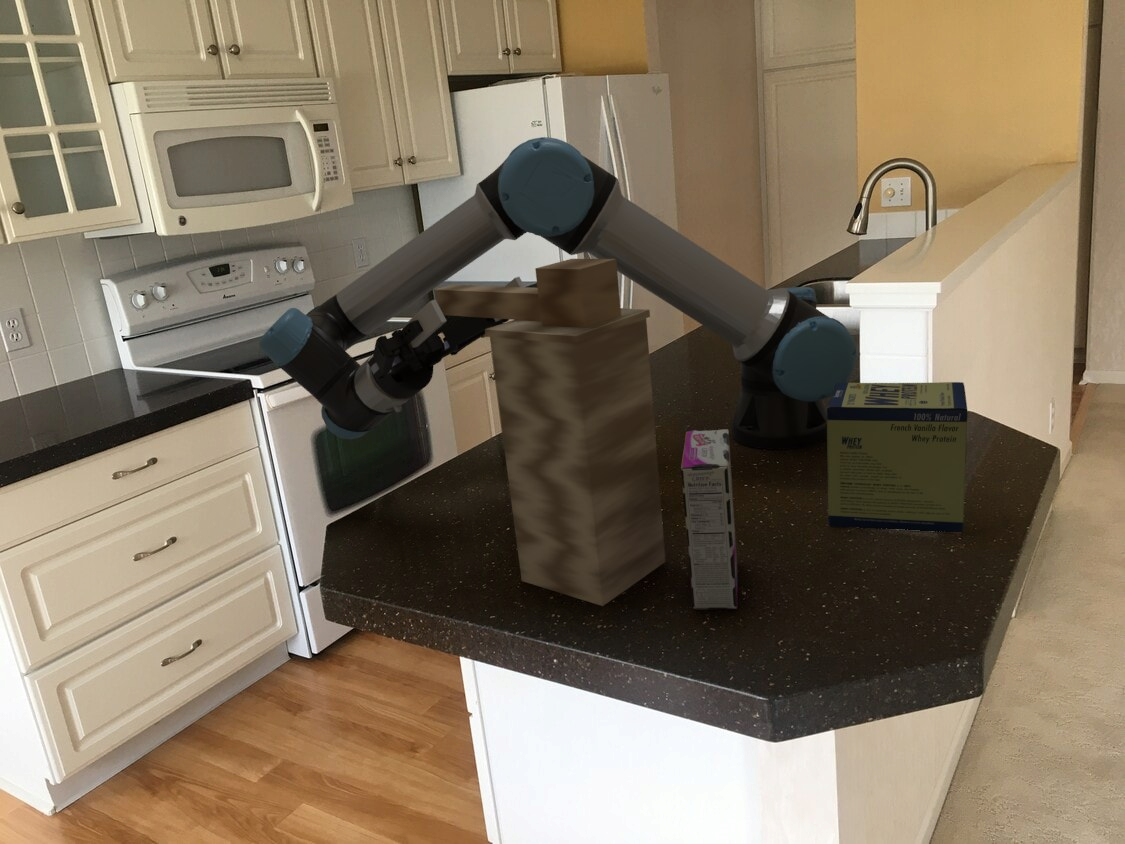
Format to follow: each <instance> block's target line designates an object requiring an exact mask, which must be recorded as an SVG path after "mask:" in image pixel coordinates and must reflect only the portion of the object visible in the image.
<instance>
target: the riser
mask: <svg viewBox="0 0 1125 844" xmlns="http://www.w3.org/2000/svg"><path fill="white" fill-rule="evenodd" d="M620 308H621V316H619V317H616V318H613V319H610V320H607V321H605V322H602V323H599V324H596V325H593V326H591V327H588V328H576V327H561V326H547V325H542V323H541V321H527V320H512V319H511V320H509V321H507V322H505V323H503V324H500V325H497V326H494V327H490V328H487V329H485V335H484V336H485V337H487V338H489V342H490V349H491V356H492V364H493V372H494V373H493V374H494V380H495V386H496V396H497V402H498V409H499V418H500V424H501V432H502V433H501V434H502V440H503V441H502V442H503V448H504V456H505V463H506V470H507V479H508V485H509V492H510V493H509V494H510V501H511V507H512V508H511V509H512V515H513V523H514V525H513V526H514V532H515V540H516V548H517V555H518V562H519V568H520V577H521V582H523V583H527V584H531V585H533V586H536V587H540V588H543V589H547V590H549V591H554V592H557V593H559V594H562V595H566V596H569V597H572V598H575V599H579V600H581V601H585V602H589V603H591V604H593V605H598V606H601V607H604V606H605V605H606V604H608V603H610V602H611V601H612V600H614V599H615V598H616V597H618V596H619V595H621V594H622V593H624V592H625V591H627V590H628V589H629V588H631V587H632V586H634V584H637V582H639V581H640V580H642V579H644V578H645V577H646V576H647V575H649V574H650V573H652V572H653V571H655V570H656V569H657V568H659V567H660V566H661V565H664V564H665V563H666V552H665V541H664V539H665V538H664V537H665V536H664V526H663V514H662V504H661V503H662V502H661V487H660V486H661V485H660V475H659V462H658V450H657V449H658V448H657V440H656V439H657V438H656V426H655V413H654V411H655V410H654V400H653V399H654V398H653V387H652V374H651V363H650V362H651V360H650V349H649V336H648V325H647V324H648V323H647V318H651V314H650V311H651V310H650V309H649V308H648V309H647V308H645V309H643V308H626V307H625V308H624V307H620Z"/></svg>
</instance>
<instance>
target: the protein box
mask: <svg viewBox="0 0 1125 844" xmlns="http://www.w3.org/2000/svg"><path fill="white" fill-rule="evenodd" d="M967 405H968V404H967V397H966V389H965V383H964V382H962V381H956V382H955V381H954V382H953V381H951V382H950V381H947V382H945V381H944V382H943V381H942V382H847V383H836V384H835V385H834V389H833V393H832V396H830V399H829V401H828V403H827V406H826V408H827V438H826V440H827V441H826V442H827V445H826V446H827V447H826V448H827V451H826V453H827V526H828V527H832V528H833V527H834V528H847V527H854V528H853V529H856V528H855V527H859V528H858V529H865V528H876V529H875V530H884V529H886V528H887V529H905V530H907V529H908V530H920V531H935V532H934V533H936V531H937V532H939V531H940V532H941V531H942V532H944V531H945V532H963V533H964V517H965V515H964V514H965V493H966V492H965V490H966V465H967V463H966V462H967V461H966V460H967V443H968V442H967V441H968V406H967ZM878 528H879V529H878ZM881 528H882V529H881Z"/></svg>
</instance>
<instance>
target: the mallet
mask: <svg viewBox="0 0 1125 844" xmlns="http://www.w3.org/2000/svg"><path fill="white" fill-rule="evenodd" d="M618 276H619V275H618V271H617V262H616V259H598V258H568V259H566V260H562V261H558V262H553V263H551V264H547V265H543V266H540V267H539V266H538V267H536V268H535V277H536V286H537V287H527V286H525V287H505V286H502V285H501V286H494V285H493V286H492V285H472V284H469V285H465V284H451V285H447V286H443V287H439V288H434V289H433V293H434V300H436V301H437V303H438V305H439V307H440V309H441V311H442V313H443V315H444V316H452V317H482V318H497V319H510V320H511V321H512V320H527V321H541V323H542V325H547V326H561V327H576V328H588V327H591V326H593V325H596V324H599V323H602V322H605V321H607V320H610V319H613V318H616V317H619V316H621V308H622V307H621V300H620V298H621V297H620V286H619V277H618Z"/></svg>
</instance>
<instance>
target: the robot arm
mask: <svg viewBox="0 0 1125 844" xmlns="http://www.w3.org/2000/svg"><path fill="white" fill-rule="evenodd" d="M621 190H622V189H621V185H620V181H619V178H618V177H616V176H614V175H613V174H611V173H610V172H609V171H607V170H605V169H604V168H602V167H601V166H599V165H598V164H597V163H595V162H594V161H592V160H590V159H589V158H587V157H586V156H585V155H583V154H582V152H580V150H578V149H577V148H576V147H575V146H573V145H572V144H570V143H568V142H566V141H564V140H562V139H559V138H554V137H545V136H544V137H542V136H541V137H536V138H535V137H534V138H531V139H528V140H526V141H524V142H522V143H520V144H518V145H517V146H516V147H515V148H514V149H512V150H511V152H510V153H509V154H508V156H507V157H506V158H505V160H503V161H502V163H501V164H500V166H498V167H496V169H495V170H494V171H493V172H491V173H490V174H489V175H487V176H486V177H485V178H484V179H482V180H481V181H480V182H478V183H476V187H475V191H474V195H472V196H471V197H469V198H468V199H467V200H466V201H464V202H463V203H461V204H459V205H458V206H457V207H455V208H454V209H453V210H451V211H450V212H449V213H447V214H446V215H444V216H443V217H441V218H440V219H438V220H437V221H436V222H435V223H433V224H431V225H430V226H429V227H427V228H426V229H424V230H423V231H422V232H420V233H419V234H418V235H416V236H415V237H414V238H412V239H411V240H409V241H408V242H406V243H405V244H403V246H401V247H400V248H398V249H397V250H395V251H394V252H392V253H391V254H390V255H388V256H387V257H385V258H384V259H383V260H381V261H380V262H379V263H377V264H376V265H375V266H373V267H372V268H370V269H369V270H367V271H366V272H364V273H363V274H362V275H359V276H358V278H356V279H355V280H353V281H352V282H350V283H349V284H348V285H346V286H345V287H343V288H342V289H341V290H339V291H338V292H337V293H336V294H335V295H333V296H331V297H330V298H329V299H327V300H326V301H324V302H322V303H321V304H320V305H317V306H316V307H313V309H311V310H309V312H307V313H306V314H305V312H302V311H301V310H300V309H299V308H298V307H291V308H289V309H287V310H286V311H285V312H284V313H283V314H282V315H280V316H279V318H278V319H277V320H275V322H274V323H273V324H272V325H271V326H270V327H269V328H268V329H267V330H266V331H265V332H264V334H263V335H262V336H261V337H260V339H259V342H258V345H259V348H260V349H261V351H262V352H263V353H264V354H265V355H266V356H267V357H268V358H269V359H270V360H271V361H272V363H273V364H274V365H275V366H276V367H279V368H280V369H281V370H282V371H284V372H285V373H286V374H287V375H288V376H289V377H290V378H291V379H292V380H293V381H295V382H296V383H298V385H300V386H301V387H302V388H303V389H304V390H305V391H307V393H309V394H310V395H311V396H312V397H313V398H314V399H316V400H317V402H318V403H319V404H321V410H320V411H321V419H322V420H323V422H324V425H325V427H326V428H327V429H328V430H329V432H330V433H332V434H333V435H335V436H336V437H338V438H341V439H345V440H355V439H358V438H361V437H363V436H364V435H365V434H367V433H369V432H371V431H373V430H375V429H376V428H377V427H378V426H379V425H380V424H382V422H383V421H385V420H386V419H387V418H388V417H390V416H391V415H392V414H393V413H394V412H395V413H400V412H402V410H403V408H402V405H403V404H405V403H406V402H408V401H409V400H410V399H412V398H413V397H414V396H416V395H417V394H418V393H419V392H421V391H422V390H423V389H425V388H426V387H427V386H428V385H429V384H430V382H431V380H432V379H433V375H434V366H435V365H436V364H437V365H438V363H440V362H441V361H442V360H443V359H444V358H445V357H446V358H447V356H449V355H450V356H456V355H457V354H458V353H459V352H460V351H462V350H463V349H464V348H466V347H468V346H469V345H471V344H473V343H474V342H475V341H477V340H478V339H480V338H482V337H483V336H486V335H485V329H487V328H490V327H494V326H497V325H500V324H503V323H506V322H509V321H511V319H497V318H482V317H467V316H464V317H462V318H461V319H460V320H458V321H456V322H454V323H453V324H451V325H449V326H446V325H444V324H446V322H447V321H448V320H447V319H446V316H445V315H443V313H442V311H441V309H440V307H439V305H438V303H437V301H436V300H435V299H432V300H430V301H429V302H428V303H426V305H424V306H423V307H422V308H421V309H420V310H418V312H417V313H416V314H414V315H413V316H412V317H411V318H410V319H409V320H408V321H407V322H406V323H405V324H404V325H403V326H402V327H401V328H402V329H396V330H395V329H394V331H393V332H391V337H387V336H386V335H380V336H378V338H377V339H376V341H375V345H374V350H373V353H372V355H370V356H369V357H368V358H367V359H366V360H364V362H363V363H362V364H360V363H359V362H357V360H356V359H354V357H353V356H352V355H350V354H349V353H348V349H350V348H352V347H353V346H355V345H356V344H358V342H361V340H363V339H364V338H365V337H366V336H368V335H369V334H370V333H373V332H374V331H375V330H376V329H378V328H380V327H381V326H382V325H384V324H385V323H387V322H388V321H390V320H391V319H393V318H394V317H395V316H397V315H398V314H399V313H401V312H402V311H404V310H406V309H407V308H408V307H410V306H412V304H414V303H416V302H417V301H418V300H419V299H422V298H423V297H424V296H425V295H428V293H430V292H431V291H434V289H436V288H437V287H439V286H440V285H441V284H442V283H444V282H445V281H447V280H448V279H450V278H451V277H452V276H454V275H455V274H457V273H458V272H460V271H461V270H463V269H464V268H466V267H467V266H468V265H470V264H472V263H473V262H475V260H477V259H478V258H480V257H482V256H483V255H484V254H485V253H487V252H488V251H490V250H491V249H493V248H494V247H496V246H497V245H499V244H500V243H501V242H503V241H504V240H509V241H510V240H512V241H516V240H518V239H519V238H521V237H523V235H525V234H527V233H529V234H533V235H535V236H538V237H541V238H543V239H544V240H546V241H547V242H548V243H550V244H552V245H554V246H555V247H557V248H559V249H560V250H562V251H564V252H565V253H567V254H568V255H570V256H574V255H578V254H583V253H584V254H585V253H587V254H589V255H592V257H595V259H616V262H617V273H620V274H622V275H623V276H624V277H626V278H628V279H629V280H631V281H632V282H634V283H635V284H637V285H639V286H640V287H642V288H643V289H645V290H647V291H648V292H649V293H652V294H653V295H654V296H656V297H657V298H659V299H661V300H662V301H664V302H665V303H667V304H669V305H671V306H672V307H674V308H675V309H677V310H678V311H680V312H681V313H682V314H684V315H686V316H688V317H689V318H691V319H692V320H694V321H696V322H697V323H699V324H700V325H701V326H703V327H706V328H707V329H708V330H709V331H711V332H713V333H714V334H716V335H718V336H720V337H721V338H723V340H726V341H727V342H728V343H730V344H731V345H732V349H733V356H734V358H735V360H736V361H738V362H739V363H740V365H739V367H740V369H739V370H740V382H741V383H740V384H741V389H740V393H739V397H738V400H737V402H736V407H735V411H734V413H733V414H734V415H733V418H732V422H731V426H732V427H731V431H732V432H731V433H732V438H733V439H734V440H735V441H736V442H738V443H739V444H742V445H744V446H747V447H753V448H757V449H767V450H768V449H769V450H771V449H772V450H786V449H797V448H804V447H809V446H813V445H815V444H819V443H822V442H823V441H825V440H827V406H826V404H825V401H824V400H825V399H827V398H831V396H832V393H833V389H834V385H835V384H836V383H848V381H849V380H850V379H851V377H852V374H853V372H854V369H855V367H856V363H857V346H856V343H855V340H854V338H853V336H852V334H851V333H850V332H849V330H848V328H847V327H846V326H845V325H844V323H842V322H840V320H838V319H836V318H833V317H829V316H828V315H827V314H825V313H823V312H822V311H820V310H818V309H817V306H818V299H817V298H816V297H817V296H816V291H815V289H814V288H812V287H810V286H809V287H808V286H794V287H779V288H773V289H772V288H771V289H765V288H764V287H763V286H761V285H759V284H758V283H756V282H755V281H753V280H752V279H750V278H749V277H747V276H746V275H744V274H743V273H741V272H740V271H738V270H737V269H735V268H733V267H732V266H731V265H729V264H727V263H726V262H724V261H723V260H722V259H720V258H718V257H717V256H715V255H714V254H712V253H711V252H709V251H707V250H706V249H705V248H703V247H701V245H698V244H697V243H695V242H693V241H692V240H691V239H689V238H687V237H686V236H685V235H683V234H682V233H680V232H678V231H677V230H676V229H674V228H672V227H671V226H669V225H668V224H666V222H665V223H664V222H663V221H662V220H660V219H659V218H657V217H656V216H655V215H653V214H651V213H649V212H648V211H647V210H645V209H643V208H642V207H640V206H639V205H637V204H635V203H634V202H632V201H631V200H629V199H628V198H626V197H625V196H623V194H622V191H621ZM504 287H526V286H525V285H524V282H523V281H522V278H521V276H516V277H514V278H513V279H512V280H510V281H509V282H508V283H507V284H506V285H505V286H504ZM441 334H443V336H444V337H443V338H442V337H441V336H440V335H441Z"/></svg>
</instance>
